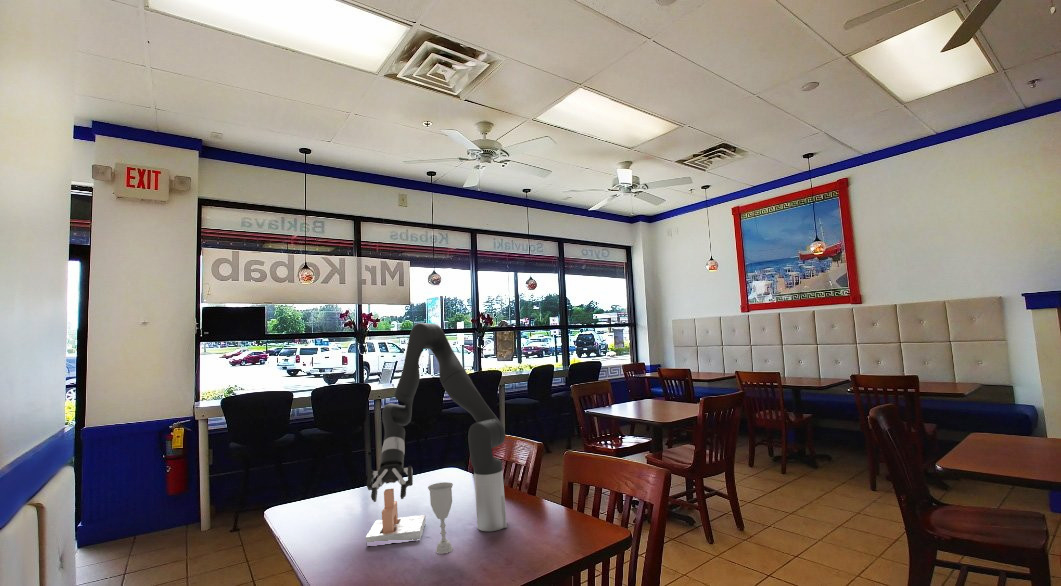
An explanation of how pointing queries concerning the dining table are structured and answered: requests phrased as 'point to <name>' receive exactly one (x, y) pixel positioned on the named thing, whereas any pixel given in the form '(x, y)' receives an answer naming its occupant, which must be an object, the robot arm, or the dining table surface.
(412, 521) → the plate
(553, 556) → the dining table surface
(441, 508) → the chalice
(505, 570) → the dining table surface
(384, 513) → the clip
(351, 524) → the dining table surface
